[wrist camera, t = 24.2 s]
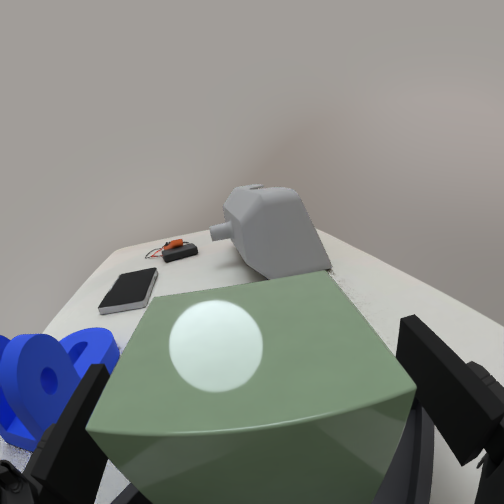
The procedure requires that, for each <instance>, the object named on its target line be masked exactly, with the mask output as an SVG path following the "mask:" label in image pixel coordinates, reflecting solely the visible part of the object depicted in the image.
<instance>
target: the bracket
mask: <svg viewBox="0 0 504 504" xmlns="http://www.w3.org/2000/svg"><path fill="white" fill-rule="evenodd" d="M119 355H120V352H119V349H118V347H117V344H116V342H115V340H114V337H113V335H112V333H111V332H110V331H109V330H107V329H105V328H88V329H84V330H80V331H77V332H75V333H72V334H70V335H68V336H67V337H65V338H63V339H62V340H60V341H59V342H58V341H57V340H56V339H55V338H54V337H52V336H50V335H47V334H23V335H19V336H16V337H14V338H13V339H12V340H9V339H8V338H6V337H4V336H2V335H0V435H1V436H2V438H3V439H4V440H5V441H6V442H7V443H9V444H11V445H14V446H17V447H20V448H22V449H25V450H28V451H31V452H34V450H35V448H37V447H36V446H37V444H38V442H39V441H40V439H41V437H42V435H43V433H44V431H45V430H46V429H47V428H48V427H49V426H50V425H51V424H52V423H55V424H56V423H57V421H58V419H59V417H60V415H61V414H62V412H63V410H64V408H65V407H66V405H67V403H68V401H69V400H70V398H71V396H72V394H73V393H74V391H75V389H76V388H77V386H78V384H79V383H80V381H81V379H82V378H83V376H84V374H85V373H86V371H87V370H88V368H89V366H90V365H91V364H105V366H106V368H107V370H108V372H109V374H110V375H111V373H112V371H113V369H114V367H115V365H116V363H117V361H118V359H119Z"/></svg>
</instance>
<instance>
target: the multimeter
mask: <svg viewBox="0 0 504 504" xmlns="http://www.w3.org/2000/svg"><path fill="white" fill-rule="evenodd" d="M183 243H189V242H183V240H182V239H178V240H173V241H171V242H169V243H167V242H166V244H165V245H164V246H163V247H164V248H163V247H162V248H159V249H161V250H162V249H164V251H162V255H161V256H163V258H164V260H165V262H168V261H171V260H175V259H179V258H182V257H186V256H190V255H194V254H197V253H198V250H197V247H196V246H195V245H194V244H192V243H191V244H187V245H183ZM154 250H156V249H154ZM152 251H153V250H152ZM152 251H151V252H152ZM159 251H160V250H159ZM157 252H158V251H157ZM148 254H149V253H148ZM148 254H147V255H148ZM147 255H146V256H147ZM152 256H153V255H152ZM152 256H150V257H152ZM153 257H158V256H153ZM145 258H146V257H145ZM148 258H149V257H148Z"/></svg>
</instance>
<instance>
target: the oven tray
mask: <svg viewBox="0 0 504 504" xmlns="http://www.w3.org/2000/svg"><path fill="white" fill-rule="evenodd" d="M433 458H434V423H433V421H432V420H431V418H430V417H429V415H428V414H427V412H426V411H425V409H424V408H423V407H422V405H421V404H420V402H419V401H418V399H417V398H416V396H415V397H414V400H413V404H412V407H411V410H410V413H409V416H408V419H407V422H406V425H405V428H404V431H403V434H402V436H401V439H400V442H399V444H398V447H397V449H396V452H395V454H394V457H393V459H392V462H391V464H390V466H389V469H388V471H387V473H386V475H385V477H384V480H383V482H382V484H381V486H380V488H379V490H378V492H377V494H376V496H375V498H374V500H373V502H372V503H371V504H429V501H430V493H431V484H432V473H433ZM111 504H152V503H151V502H150V501H149V500H148V499H147V498H146V497H145V496H144V495H143V494H142V493H141V492H140V491H139V490H138V489H137V488H136V487H135V486H134V485H133V484H132V483H130V484H129V485H128V486H127V487H126V488H125V489H124V490H123V491H122V492H121V493H120V494H119V495H118V496H117V497H116V498H115V499H114V500H113V502H112V503H111Z"/></svg>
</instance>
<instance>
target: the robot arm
mask: <svg viewBox="0 0 504 504" xmlns="http://www.w3.org/2000/svg"><path fill="white" fill-rule="evenodd" d="M396 359H397V360H398V361H399V363H400V364H401V365H402V367H403V368H404V369H405V371H406V372H407V373H408V375H409V376H410V377H411V379H412V380H413V381H414V383H415V384H416V387H417V390H416V393H415V396H416V398H417V399H418V401H419V402H420V404H421V405H422V407H423V408H424V409H425V411H426V412H427V414H428V415H429V417H430V418H431V420H432V421H433V423H434V424H435V426H436V427H437V429H438V430H439V432H440V433H441V435H442V436H443V438H444V439H445V441H446V442H447V444H448V446H449V447H450V449H451V450H452V452H453V453H454V455H455V457H456V458H457V460H458V461H459V463H460V465H461V466H464V465H465V464H467V463H469V462H470V461H472V460H473V459H475V458H476V457H477V456H478V455H479V454H480V452H481V451H482V450H483V448H484V449H485V450H486V452H487V453H486V454H485V455H484V457H483V458H482V459H481V461H480V462H479V463H478V465H477V469H479V467H480V466H481V465H482V464H483V467H482V473H481V478H480V483H479V487H478V491H477V495H476V499H475V503H474V504H504V387H503V386H502V385H501V384H500V383H499V382H498V381H497V382H496V379H495V378H494V377H493V376H492V375H491V376H490V373H489V372H488V371H487V370H486V369H485V368H484V367H483V366H481V365H479V364H477V363H475V362H473V361H471V362H469V363H467V364H466V363H465V362H464V361H463V360H462V359H461V358H460V357H459V356H458V355H457V354H456V353H455V352H454V351H453V350H452V349H451V348H449V347H448V346H447V345H446V344H445V343H444V342H443V341H442V340H441V339H440V338H439V337H438V336H437V335H436V334H435V333H434V332H433V331H432V330H431V329H430V328H429V327H428V326H427V325H426V324H424V323H423V322H422V321H421V320H420V319H419V318H418V317H417V316H416V315H415V314H414V315H411V316H407V317H404V318H401V319H400V328H399V337H398V344H397V351H396ZM109 378H110V374H109V372H108V370H107V368H106V366H105V364H91V365H90V366H89V368H88V370H87V371H86V373H85V374H84V376H83V378H82V379H81V381H80V383H79V384H78V386H77V388H76V389H75V391H74V393H73V394H72V396H71V398H70V400H69V401H68V403H67V405H66V407H65V408H64V410H63V412H62V414H61V415H60V417H59V419H58V421H57V423H56V424H55V423H52V424H51V425H50V426H49V427H48V428H47V429H46V430H45V431H44V433H43V435H42V437H41V439H40V441H39V442H38V444H37V446H36V447H37V448H35V450H34V452H33V454H32V456H31V458H30V460H29V462H28V464H27V466H26V468H25V470H24V472H23V473H20V472H19V471H18V470H17V469H16V468H15V467H14V466H13V465H12V464H11V463H10V462H9V461H7V460H0V504H94V502H95V499H96V495H97V492H98V489H99V485H100V482H101V479H102V476H103V473H104V470H105V467H106V464H107V461H108V457H107V456H106V455H105V454H104V453H103V451H102V450H101V449H100V448H99V447H98V445H97V444H96V443H95V442H94V440H93V439H92V438H91V436H90V435H89V434H88V433H87V431H86V429H85V428H86V425H87V423H88V421H89V418H90V416H91V414H92V412H93V410H94V408H95V406H96V404H97V402H98V400H99V398H100V396H101V394H102V392H103V390H104V388H105V386H106V384H107V382H108V380H109Z"/></svg>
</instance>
